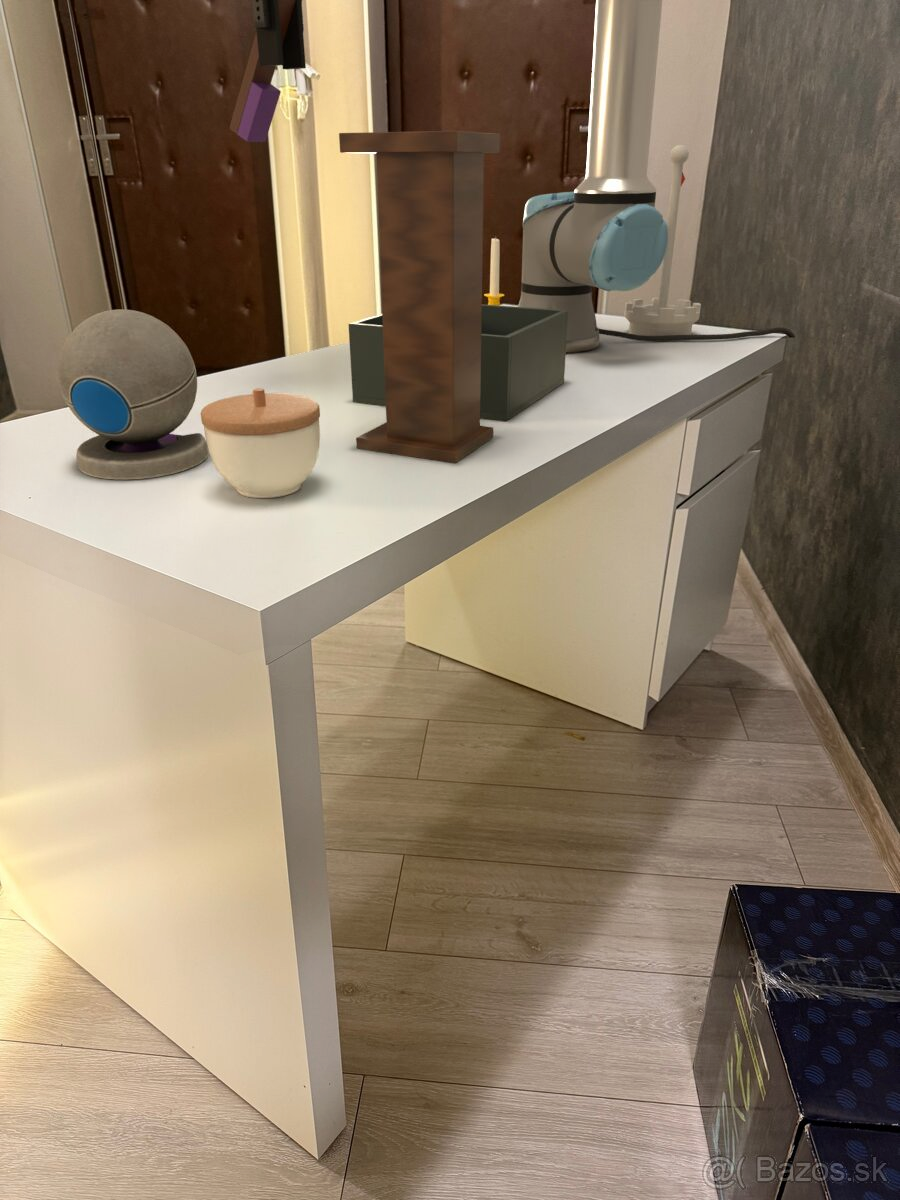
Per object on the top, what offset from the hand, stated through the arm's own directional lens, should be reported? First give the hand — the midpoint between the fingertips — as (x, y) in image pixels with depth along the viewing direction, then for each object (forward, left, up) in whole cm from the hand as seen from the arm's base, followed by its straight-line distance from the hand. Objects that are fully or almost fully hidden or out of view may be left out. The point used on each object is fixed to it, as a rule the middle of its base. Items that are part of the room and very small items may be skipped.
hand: (283, 66), depth 94 cm
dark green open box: (-18, +10, -37) cm, 43 cm away
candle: (-52, -31, -37) cm, 71 cm away
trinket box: (+18, +31, -37) cm, 52 cm away
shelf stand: (-2, +27, -37) cm, 46 cm away
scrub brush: (+2, -3, +1) cm, 3 cm away
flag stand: (-71, -6, -37) cm, 80 cm away
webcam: (+26, +16, -37) cm, 49 cm away
